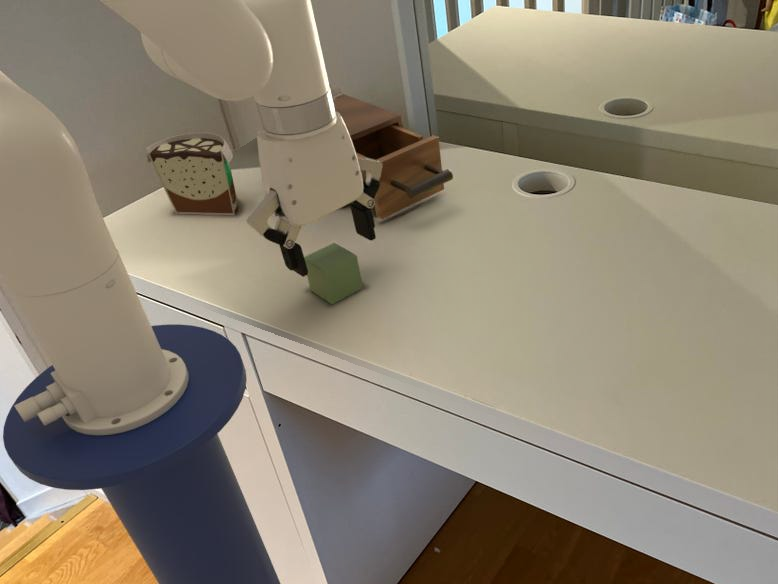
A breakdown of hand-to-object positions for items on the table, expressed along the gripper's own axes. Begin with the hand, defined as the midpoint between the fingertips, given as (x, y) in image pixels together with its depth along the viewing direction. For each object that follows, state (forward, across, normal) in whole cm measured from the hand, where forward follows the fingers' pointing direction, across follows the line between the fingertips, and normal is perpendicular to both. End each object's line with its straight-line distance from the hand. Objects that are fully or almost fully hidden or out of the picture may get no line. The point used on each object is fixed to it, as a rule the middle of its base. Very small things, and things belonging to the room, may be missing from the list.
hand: (333, 253), depth 86 cm
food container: (+5, 0, -33) cm, 33 cm away
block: (+5, +1, 0) cm, 5 cm away
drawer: (+4, -18, -12) cm, 23 cm away
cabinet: (+5, -18, -24) cm, 31 cm away
